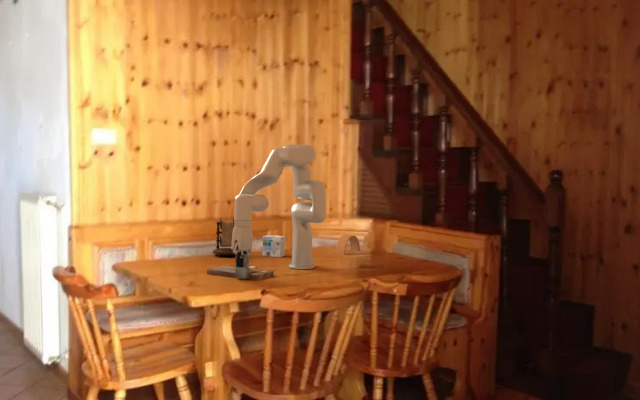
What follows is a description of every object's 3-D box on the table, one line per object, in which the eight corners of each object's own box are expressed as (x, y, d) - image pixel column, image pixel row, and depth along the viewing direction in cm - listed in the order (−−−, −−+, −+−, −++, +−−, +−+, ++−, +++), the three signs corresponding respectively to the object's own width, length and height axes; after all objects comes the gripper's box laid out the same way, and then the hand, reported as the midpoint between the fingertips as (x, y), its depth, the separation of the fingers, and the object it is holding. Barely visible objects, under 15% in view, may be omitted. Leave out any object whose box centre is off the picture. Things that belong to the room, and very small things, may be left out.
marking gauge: (250, 273, 297) (250, 251, 296) (259, 274, 295) (260, 252, 294) (235, 277, 286) (235, 254, 285) (244, 278, 284) (245, 255, 283)
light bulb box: (261, 256, 356) (262, 235, 355) (266, 254, 362) (267, 234, 361) (280, 257, 353) (281, 237, 352) (285, 255, 359) (285, 235, 358)
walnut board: (224, 269, 309) (224, 265, 309) (273, 275, 298) (273, 270, 297) (207, 274, 296) (207, 269, 296) (257, 280, 285) (257, 275, 285)
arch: (334, 254, 372) (335, 236, 371) (351, 250, 389) (352, 233, 388) (343, 255, 369) (344, 237, 368) (360, 251, 386) (360, 234, 385)
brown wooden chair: (214, 258, 344) (214, 219, 342) (211, 253, 358) (211, 216, 357) (242, 257, 348) (243, 219, 346) (238, 253, 362) (239, 216, 360)
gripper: (246, 221, 294) (245, 263, 295) (224, 224, 279) (223, 268, 280) (260, 223, 290) (259, 264, 292) (239, 226, 276) (239, 270, 277)
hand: (242, 266), depth 286 cm, fingers closed on marking gauge, 3 cm apart
